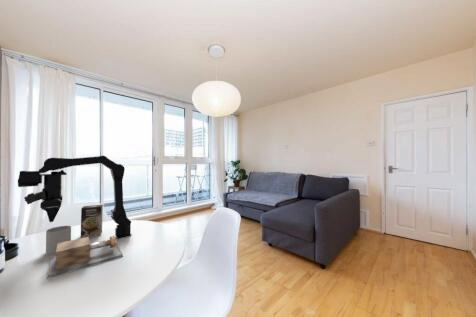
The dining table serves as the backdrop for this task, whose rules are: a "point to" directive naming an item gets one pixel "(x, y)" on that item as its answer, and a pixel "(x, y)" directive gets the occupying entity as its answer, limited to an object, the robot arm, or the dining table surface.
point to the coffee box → (91, 220)
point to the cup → (56, 238)
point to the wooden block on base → (79, 256)
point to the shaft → (104, 244)
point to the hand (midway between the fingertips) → (52, 219)
